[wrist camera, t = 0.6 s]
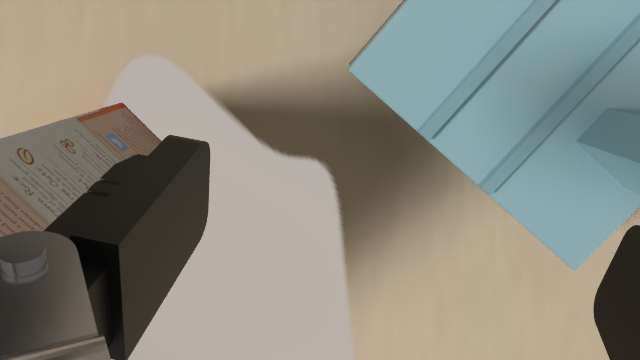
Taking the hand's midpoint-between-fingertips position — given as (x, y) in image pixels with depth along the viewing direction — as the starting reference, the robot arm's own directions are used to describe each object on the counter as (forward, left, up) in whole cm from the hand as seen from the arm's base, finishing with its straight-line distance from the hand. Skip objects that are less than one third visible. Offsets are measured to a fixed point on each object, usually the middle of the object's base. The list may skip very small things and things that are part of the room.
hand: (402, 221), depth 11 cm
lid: (+2, +9, -16) cm, 18 cm away
